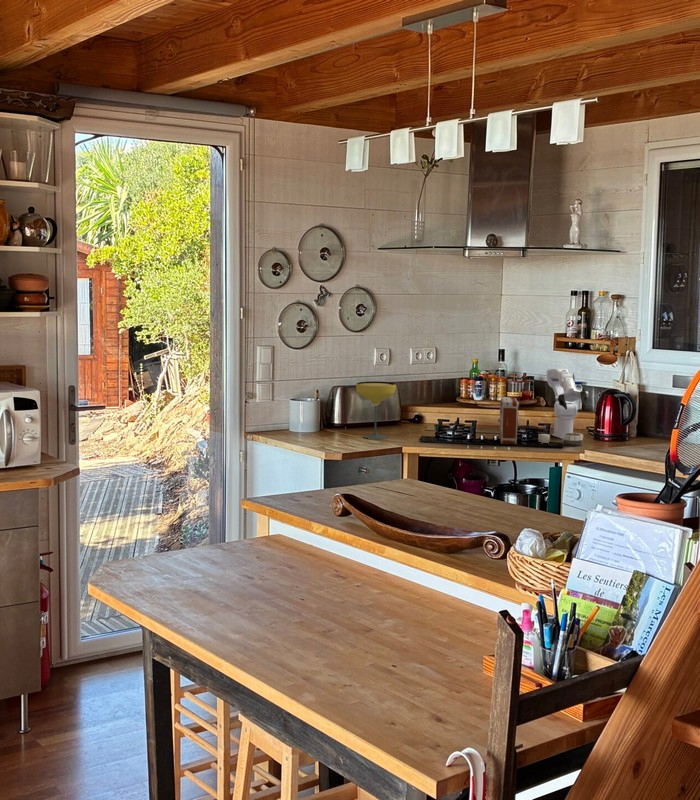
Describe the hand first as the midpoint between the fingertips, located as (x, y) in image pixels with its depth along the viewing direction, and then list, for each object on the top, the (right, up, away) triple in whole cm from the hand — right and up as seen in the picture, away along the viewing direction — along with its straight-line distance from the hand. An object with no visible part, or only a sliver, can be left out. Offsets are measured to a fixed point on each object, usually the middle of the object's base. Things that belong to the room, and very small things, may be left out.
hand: (574, 406), depth 445 cm
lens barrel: (0, -17, +4) cm, 18 cm away
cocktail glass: (-88, -15, +17) cm, 91 cm away
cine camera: (-28, -16, +10) cm, 34 cm away
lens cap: (-12, -16, +8) cm, 22 cm away
